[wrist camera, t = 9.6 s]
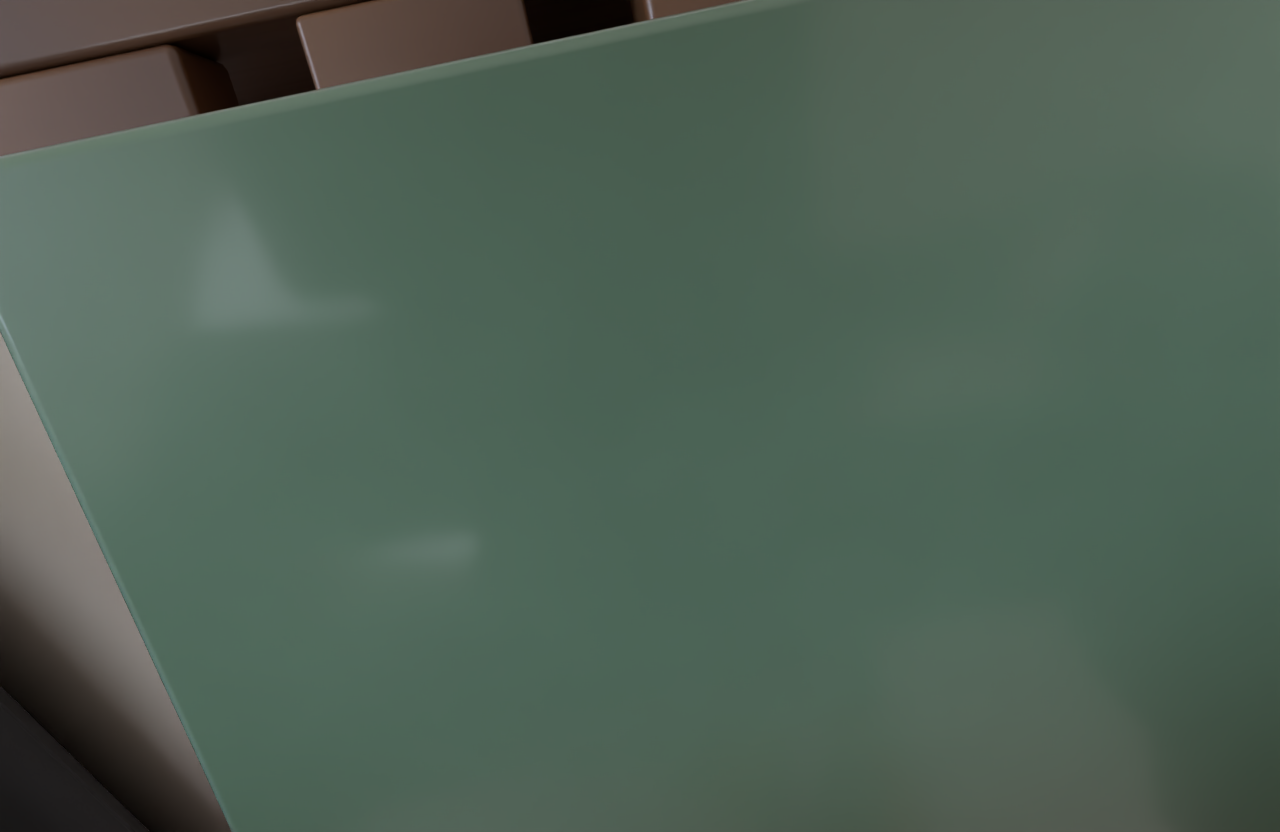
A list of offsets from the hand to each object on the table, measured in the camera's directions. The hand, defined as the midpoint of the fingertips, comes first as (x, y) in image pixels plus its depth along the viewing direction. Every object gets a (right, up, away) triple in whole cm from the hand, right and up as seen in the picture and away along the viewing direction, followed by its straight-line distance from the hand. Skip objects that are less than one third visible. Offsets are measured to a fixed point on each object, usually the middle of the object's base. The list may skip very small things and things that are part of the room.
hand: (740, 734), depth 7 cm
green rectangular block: (0, 0, +1) cm, 1 cm away
